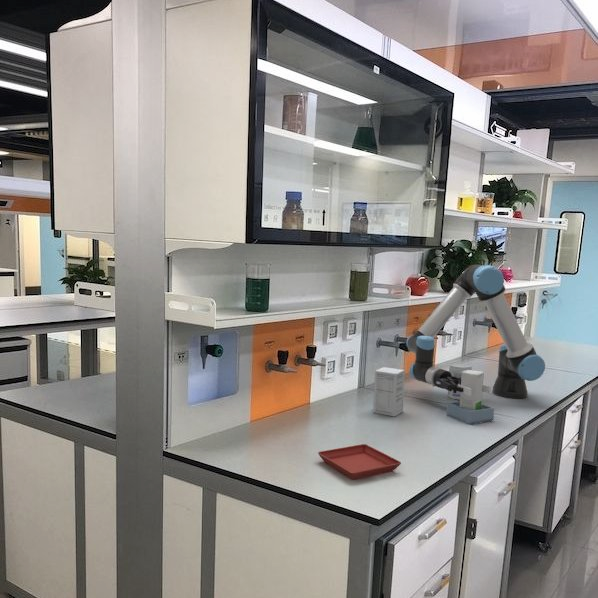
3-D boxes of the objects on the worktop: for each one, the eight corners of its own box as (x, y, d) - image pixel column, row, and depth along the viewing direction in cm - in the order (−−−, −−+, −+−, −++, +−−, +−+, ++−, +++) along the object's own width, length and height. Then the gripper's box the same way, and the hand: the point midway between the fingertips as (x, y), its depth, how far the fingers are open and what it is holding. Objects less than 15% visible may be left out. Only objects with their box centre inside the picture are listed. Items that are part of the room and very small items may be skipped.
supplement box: (403, 411, 231) (406, 369, 229) (395, 417, 223) (397, 373, 221) (381, 407, 235) (383, 366, 234) (372, 412, 227) (374, 370, 226)
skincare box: (474, 415, 220) (477, 374, 218) (457, 411, 224) (460, 371, 222) (482, 410, 227) (485, 371, 225) (465, 407, 231) (468, 368, 229)
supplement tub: (474, 399, 255) (477, 366, 253) (459, 401, 249) (462, 368, 248) (457, 394, 263) (459, 362, 261) (442, 396, 257) (445, 363, 256)
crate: (469, 412, 234) (470, 399, 234) (493, 420, 223) (494, 408, 223) (446, 415, 228) (447, 402, 227) (470, 424, 217) (471, 411, 217)
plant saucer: (316, 461, 174) (316, 451, 174) (364, 453, 183) (364, 442, 183) (351, 484, 159) (352, 473, 158) (402, 473, 168) (402, 462, 168)
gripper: (458, 384, 246) (499, 398, 226) (418, 388, 235) (458, 403, 216) (459, 367, 245) (501, 379, 226) (419, 370, 234) (459, 383, 215)
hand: (480, 391), depth 221 cm, fingers closed on skincare box, 9 cm apart
